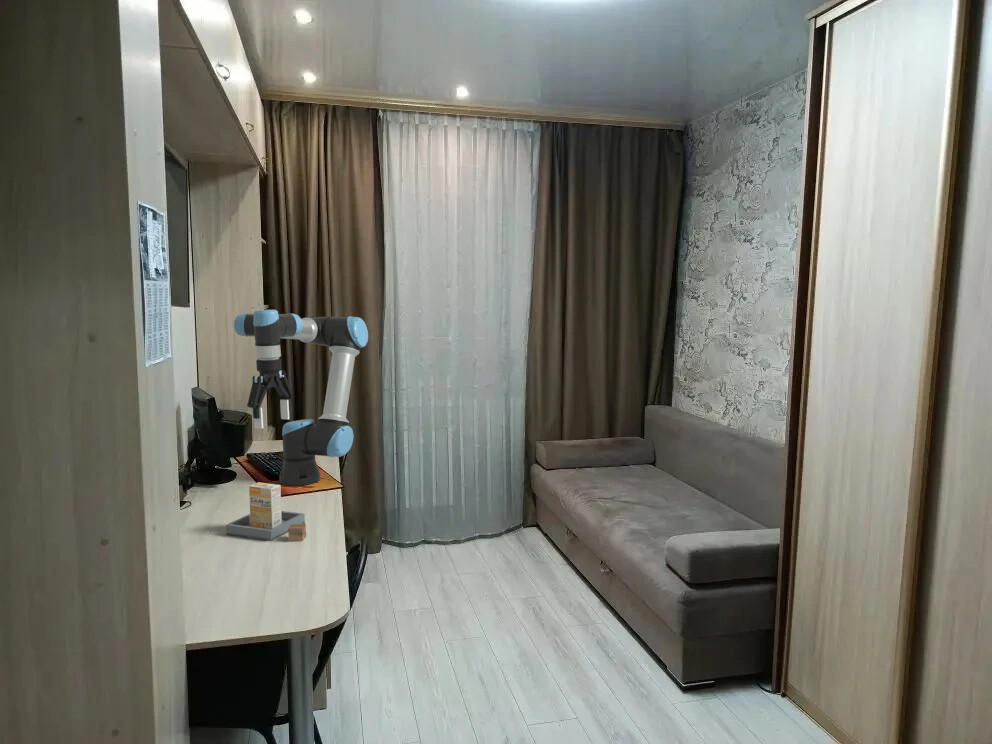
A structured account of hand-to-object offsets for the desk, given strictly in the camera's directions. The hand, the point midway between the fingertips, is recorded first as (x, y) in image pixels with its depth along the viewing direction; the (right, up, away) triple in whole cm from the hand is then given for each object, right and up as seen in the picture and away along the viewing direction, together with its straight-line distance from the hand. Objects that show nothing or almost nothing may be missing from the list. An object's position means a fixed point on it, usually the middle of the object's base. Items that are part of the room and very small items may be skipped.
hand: (272, 423), depth 212 cm
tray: (+3, -31, -13) cm, 34 cm away
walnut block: (+15, -32, -21) cm, 41 cm away
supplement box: (+3, -31, -13) cm, 33 cm away
